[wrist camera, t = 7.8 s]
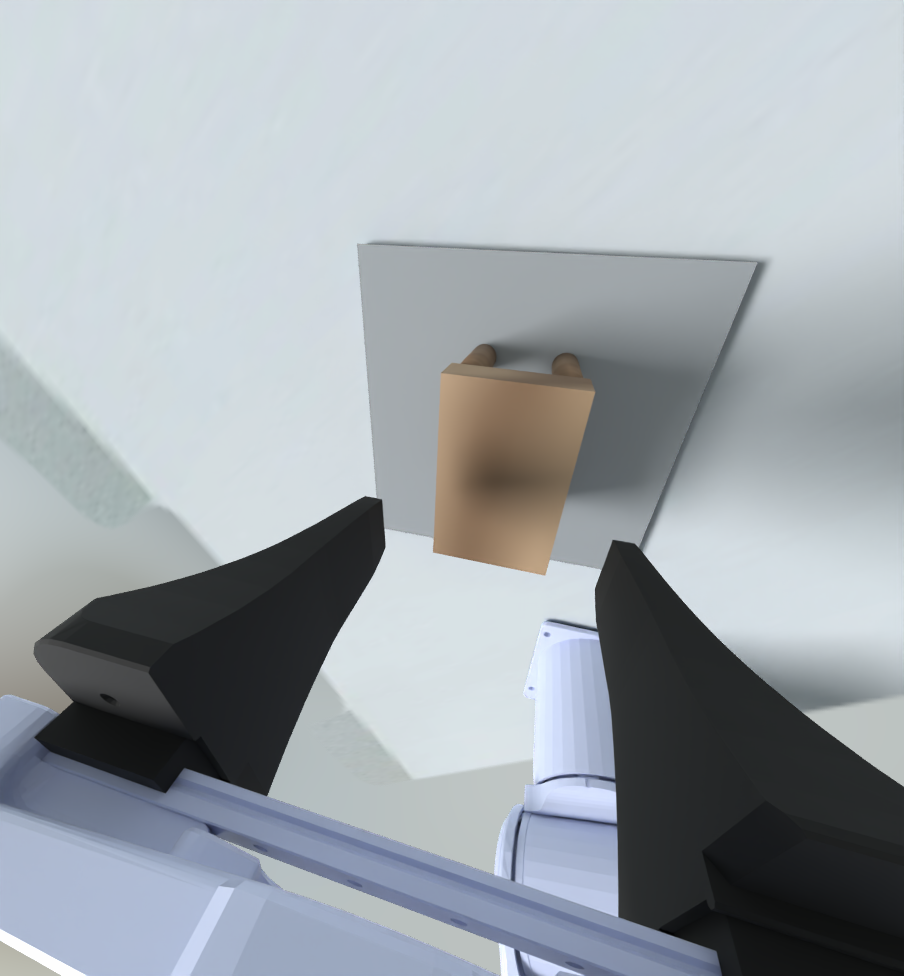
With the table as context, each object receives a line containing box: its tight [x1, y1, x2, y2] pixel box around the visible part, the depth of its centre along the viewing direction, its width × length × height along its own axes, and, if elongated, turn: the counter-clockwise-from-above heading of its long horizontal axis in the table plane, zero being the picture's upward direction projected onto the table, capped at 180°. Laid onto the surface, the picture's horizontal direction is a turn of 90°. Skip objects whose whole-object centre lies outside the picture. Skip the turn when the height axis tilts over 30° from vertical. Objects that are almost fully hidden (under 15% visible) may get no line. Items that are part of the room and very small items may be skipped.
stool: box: [433, 344, 595, 575], centre depth 16 cm, size 5×8×6 cm, turn 177°
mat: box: [357, 244, 758, 569], centre depth 19 cm, size 16×16×1 cm
